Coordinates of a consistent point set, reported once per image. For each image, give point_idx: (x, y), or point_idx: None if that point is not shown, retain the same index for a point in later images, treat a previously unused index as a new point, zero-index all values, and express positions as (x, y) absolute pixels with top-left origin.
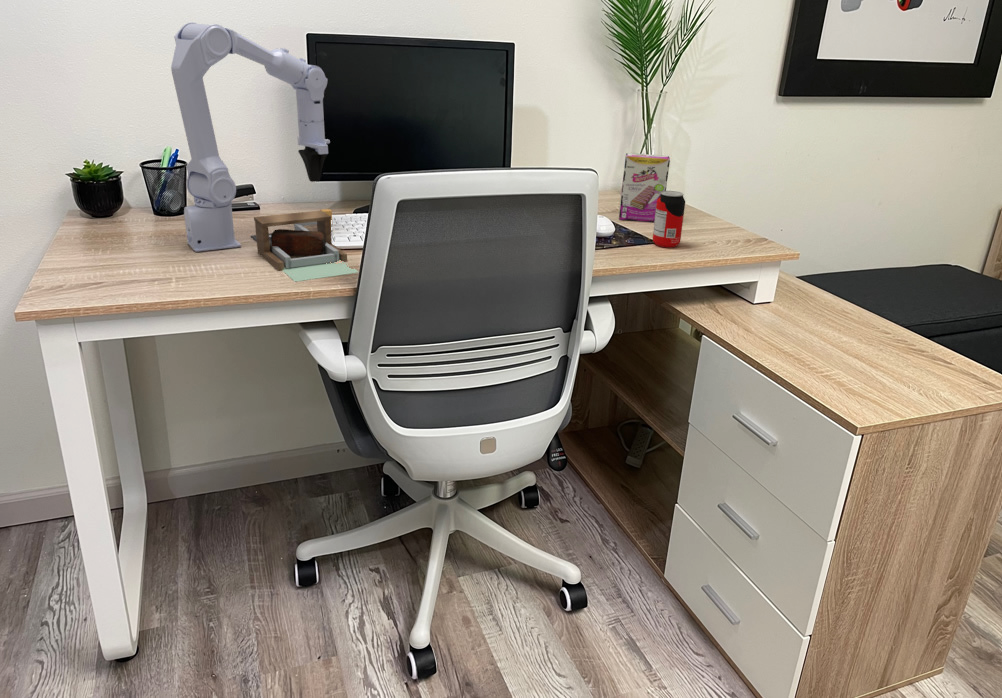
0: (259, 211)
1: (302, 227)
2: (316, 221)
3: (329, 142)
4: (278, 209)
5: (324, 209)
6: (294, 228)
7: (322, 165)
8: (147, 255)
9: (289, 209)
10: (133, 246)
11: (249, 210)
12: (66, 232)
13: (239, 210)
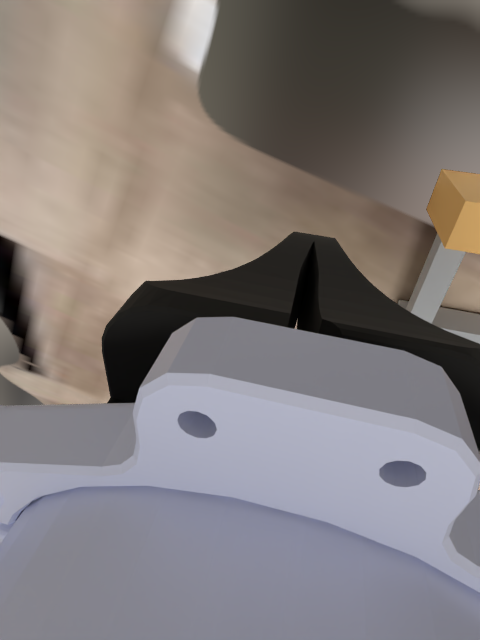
0: (39, 254)
1: (475, 340)
2: (455, 264)
3: (463, 408)
4: (19, 185)
5: (460, 228)
6: None
7: (378, 291)
8: None
9: (25, 146)
10: None
11: (21, 273)
12: None
13: (17, 295)
